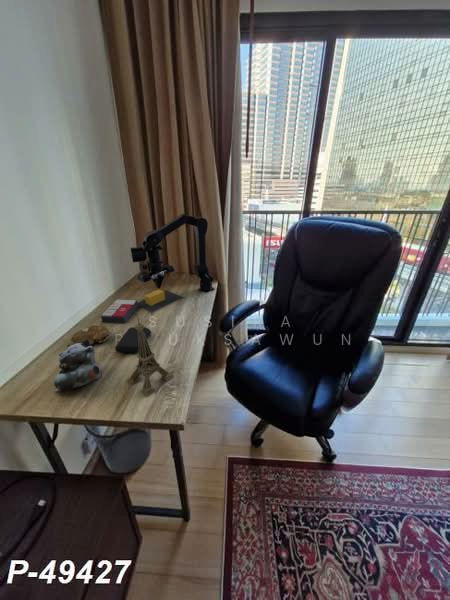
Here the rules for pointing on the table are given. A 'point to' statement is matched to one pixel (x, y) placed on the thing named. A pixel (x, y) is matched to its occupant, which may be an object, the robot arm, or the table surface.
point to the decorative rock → (91, 334)
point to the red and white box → (119, 311)
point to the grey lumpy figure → (76, 367)
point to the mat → (168, 300)
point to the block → (154, 297)
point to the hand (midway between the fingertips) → (158, 288)
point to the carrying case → (131, 340)
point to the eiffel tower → (146, 363)
